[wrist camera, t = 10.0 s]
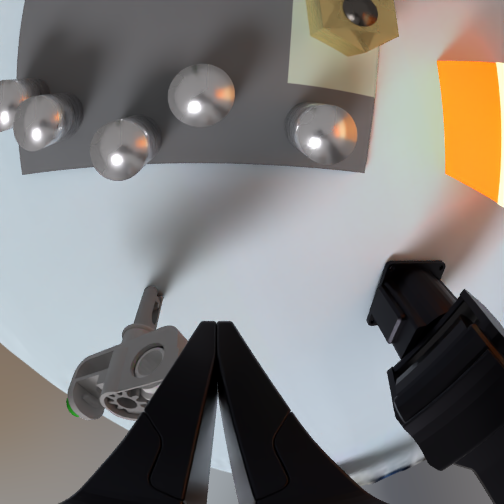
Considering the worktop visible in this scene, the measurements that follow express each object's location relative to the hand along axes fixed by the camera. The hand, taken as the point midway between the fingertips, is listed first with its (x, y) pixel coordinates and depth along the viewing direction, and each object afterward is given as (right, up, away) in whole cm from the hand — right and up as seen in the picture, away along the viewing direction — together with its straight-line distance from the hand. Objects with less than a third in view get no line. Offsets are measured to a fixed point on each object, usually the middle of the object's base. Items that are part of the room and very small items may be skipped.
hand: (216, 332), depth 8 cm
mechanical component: (-6, -1, +14) cm, 15 cm away
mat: (-3, +16, +5) cm, 16 cm away
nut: (+6, +16, +5) cm, 18 cm away
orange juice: (+18, +13, +9) cm, 24 cm away
